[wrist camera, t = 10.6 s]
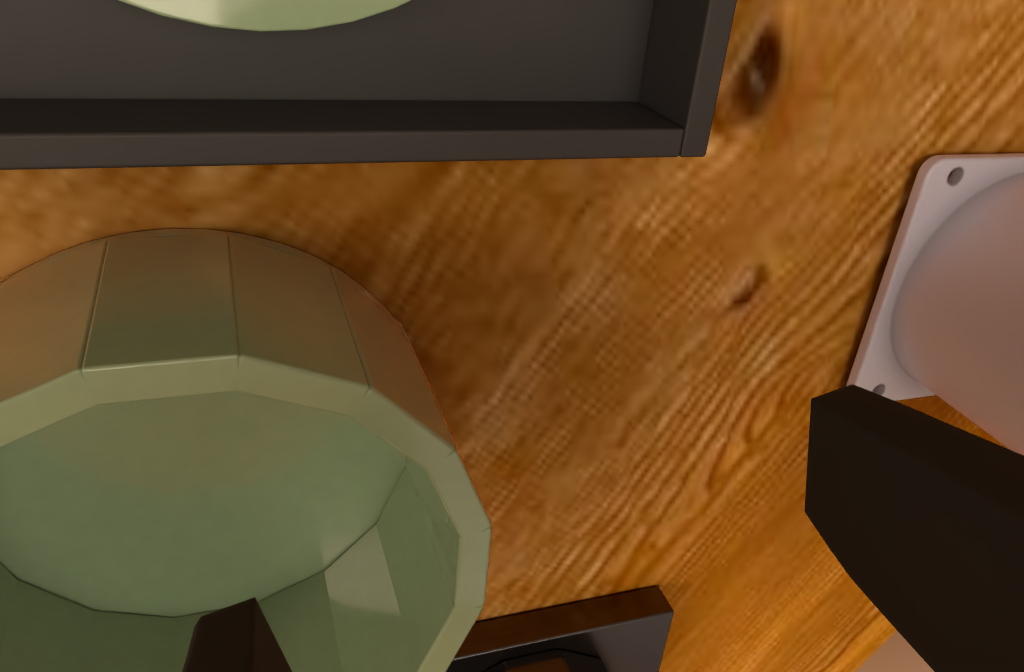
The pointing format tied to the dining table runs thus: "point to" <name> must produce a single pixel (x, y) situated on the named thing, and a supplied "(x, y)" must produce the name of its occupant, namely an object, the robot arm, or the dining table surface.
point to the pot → (223, 463)
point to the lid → (267, 12)
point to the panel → (573, 637)
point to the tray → (360, 84)
